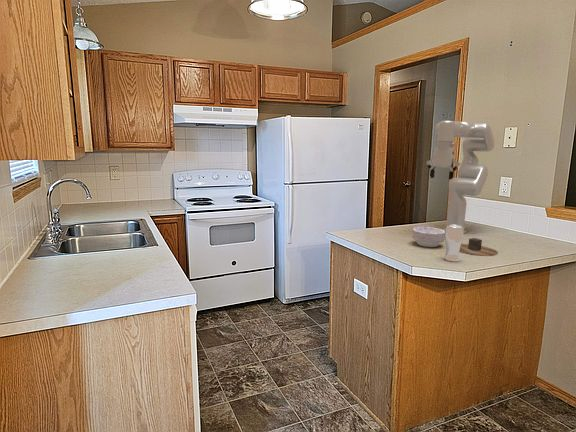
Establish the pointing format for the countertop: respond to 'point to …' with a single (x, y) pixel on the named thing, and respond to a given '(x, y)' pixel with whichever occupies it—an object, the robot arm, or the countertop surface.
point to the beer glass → (453, 242)
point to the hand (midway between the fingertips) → (441, 178)
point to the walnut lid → (477, 248)
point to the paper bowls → (428, 236)
